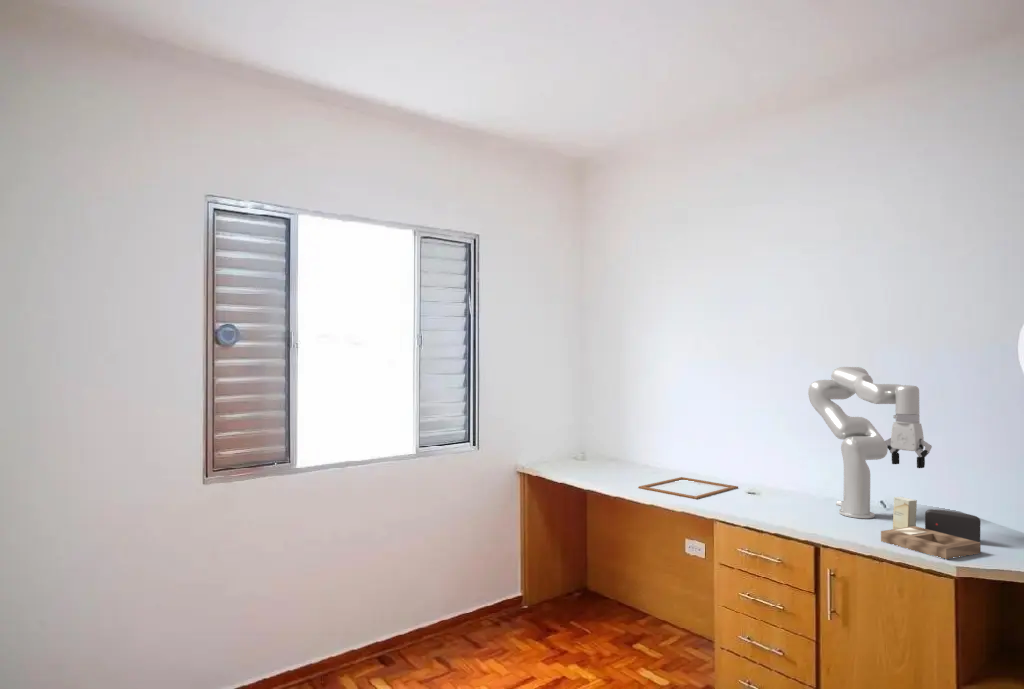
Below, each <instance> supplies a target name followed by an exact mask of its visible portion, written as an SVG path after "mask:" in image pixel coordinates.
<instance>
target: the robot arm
mask: <svg viewBox="0 0 1024 689" xmlns="http://www.w3.org/2000/svg"><path fill="white" fill-rule="evenodd" d="M830 376H831V377H830V378H831V379H820V380H815V381H813V382H811V384H810V385H809V387H808V393H807V394H808V399H809V402H810V405H811V406H812V407H813V409H815V411H816V412H817V413H818V414H819V415H820V416H821V418H822V419H823V421H824V422H825V424H826V425H827V427H828V428H829V429H830V431H831V432H832V434H833V435H834V436H835V438H837V439H839V440H843V441H842V442H841V446H840V449H841V455H842V461H843V500H837V501H836V503H835V505H836V507H837V506H838V507H840V509H839V513H838V514H840V515H842V516H845V517H848V518H855V519H867V520H868V519H873V518H875V513H874V512H873V511H871V469H870V467H869V465H868V463H867V462H866V461H873V460H874V461H875V460H876V461H878V460H882V459H884V458H885V457H887V455H888V451H889V453H890V454H891V465H900V453H899V451H900V450H902V451H908V452H915V454H916V455H917V456H916V468H917V469H923V468H925V466H926V459H925V458H926V457H927V455H929V454H930V451H931V450H932V448H933V446H932V444H930V443H928V442H927V441H925V439H924V430H923V427H922V423H920V421H921V420H920V389H919V387H918V386H917V385H910V384H909V385H906V384H905V385H902V384H897V383H886V384H885V383H874V381H873V380H874V379H873V378H872V376H871V375H870V374H869V372H868V371H867V370H866V369H865V368H864V367H860V366H839V367H836V368H835V369H834V370H832V372H831V375H830ZM855 394H856V396H857V397H858V398H859V399H860V400H863V401H866V402H867V403H868V402H869V403H871V404H874V405H895V414H894V415H892V416H893V419H895V421H893V424H892V427H891V432H890V433H891V435H890V438H888V439H886V440H885V439H884V438H883V436H882V435H881V433H880V432H879V431H878V430H877V429H876V428H875V426H874V424H873V423H872V422H871V421H870V420H868V419H867V418H865V417H863V416H849V415H847V413H846V412H845V411H844V410H843V408H841V406H840V405H839V404H837V403H835V402H834V401H833V400H848V399H849V398H851V397H852V396H854V395H855Z"/></svg>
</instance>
